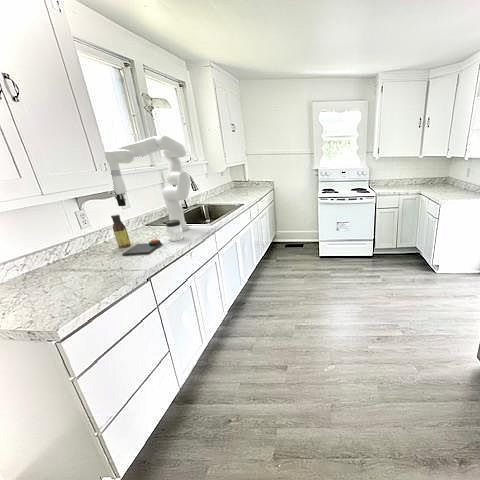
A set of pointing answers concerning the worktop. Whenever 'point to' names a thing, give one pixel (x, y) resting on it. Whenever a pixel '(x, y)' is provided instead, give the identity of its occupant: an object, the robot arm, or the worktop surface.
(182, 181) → the robot arm
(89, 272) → the worktop surface
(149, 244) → the scale
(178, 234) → the jar
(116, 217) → the sauce bottle
